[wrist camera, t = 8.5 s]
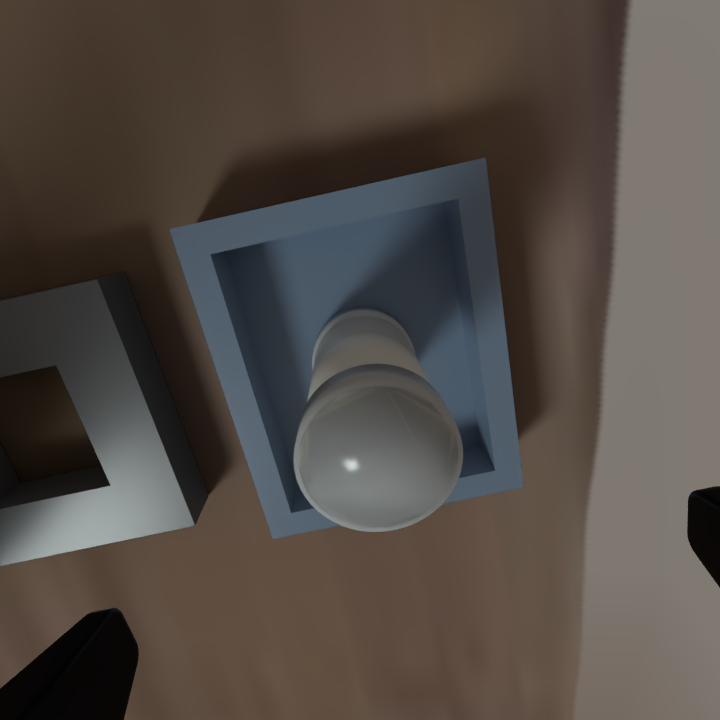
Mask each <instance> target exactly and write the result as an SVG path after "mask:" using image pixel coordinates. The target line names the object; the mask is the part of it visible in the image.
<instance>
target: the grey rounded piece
mask: <svg viewBox="0 0 720 720" xmlns="http://www.w3.org/2000/svg"><path fill="white" fill-rule="evenodd" d="M312 370H313V372H312V378H311V383H310V389H309V395H308V400H307V404H306V405H305V407H304V410H303V412H302V415H301V418H300V423H299V427H298V433H297V438H296V443H295V448H294V458H293V460H294V471H295V475H296V479H297V482H298V484H299V487H300V489H301V491H302V493H303V494H304V496H305V497H306V499H307V500H308V501H309V503H310V504H311V505H312V506H313V507H314V508H315V509H316V510H317V511H318V512H319V513H321V514H322V515H323V516H325V517H326V518H328V519H329V520H331V521H333V522H335V523H337V524H339V525H342V526H344V527H347V528H351V529H354V530H360V531H368V532H384V531H391V530H396V529H400V528H404V527H407V526H409V525H412V524H415V523H416V522H418V521H420V520H422V519H424V518H426V517H427V516H429V515H430V514H432V513H433V512H434V511H435V510H436V509H438V508H439V507H440V506H441V505H442V504H443V503H444V501H445V500H446V499H447V498H448V497H449V495H450V494H451V492H452V491H453V489H454V487H455V485H456V483H457V481H458V478H459V476H460V473H461V468H462V464H463V445H462V440H461V436H460V433H459V430H458V428H457V425H456V423H455V421H454V419H453V418H452V416H451V414H450V412H449V410H448V408H447V406H446V405H445V403H444V401H443V399H442V398H441V396H440V394H439V393H438V392H437V391H436V389H435V388H434V387H433V386H432V385H431V384H430V383H429V381H428V379H427V377H426V375H425V373H424V371H423V369H422V367H421V365H420V363H419V361H418V359H417V357H416V355H415V351H414V347H413V344H412V342H411V340H410V338H409V336H408V334H407V332H406V331H405V329H404V327H403V326H402V325H401V323H400V322H399V321H398V320H397V319H396V318H395V317H393V316H392V315H391V314H389V313H387V312H386V311H384V310H381V309H378V308H374V307H368V306H358V307H352V308H348V309H345V310H343V311H341V312H339V313H337V314H335V315H334V316H333V317H331V318H330V319H329V320H328V321H327V322H326V323H325V324H324V326H323V327H322V328H321V330H320V332H319V334H318V336H317V338H316V342H315V346H314V351H313V356H312Z"/></svg>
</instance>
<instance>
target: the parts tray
mask: <svg viewBox="0 0 720 720" xmlns="http://www.w3.org/2000/svg"><path fill="white" fill-rule="evenodd" d="M169 230H170V233H171V236H172V239H173V242H174V245H175V248H176V251H177V254H178V257H179V260H180V263H181V266H182V269H183V272H184V275H185V278H186V281H187V284H188V287H189V290H190V293H191V296H192V299H193V302H194V305H195V308H196V311H197V314H198V317H199V320H200V323H201V326H202V329H203V332H204V335H205V338H206V341H207V344H208V347H209V350H210V353H211V356H212V359H213V362H214V365H215V368H216V371H217V374H218V377H219V380H220V383H221V386H222V388H223V391H224V394H225V397H226V400H227V403H228V406H229V409H230V412H231V415H232V418H233V421H234V424H235V427H236V430H237V433H238V436H239V439H240V442H241V445H242V448H243V451H244V454H245V457H246V460H247V463H248V466H249V469H250V472H251V475H252V478H253V481H254V484H255V487H256V490H257V493H258V496H259V499H260V502H261V505H262V508H263V511H264V514H265V517H266V520H267V523H268V526H269V529H270V532H271V535H272V538H273V539H276V538H281V537H286V536H290V535H295V534H300V533H305V532H310V531H315V530H319V529H324V528H329V527H334V526H339V524H337V523H335V522H333V521H331V520H329V519H328V518H326V517H325V516H323V515H322V514H321V513H319V512H318V511H317V510H316V509H315V508H314V507H313V506H312V505H311V504H310V503H309V501H308V500H307V499H306V497H305V496H304V494H303V493H302V491H301V489H300V487H299V484H298V482H297V479H296V475H295V471H294V460H293V458H294V448H295V443H296V438H297V433H298V427H299V423H300V418H301V415H302V412H303V410H304V407H305V405H306V404H307V400H308V395H309V389H310V383H311V378H312V372H313V370H312V356H313V351H314V346H315V342H316V338H317V336H318V334H319V332H320V330H321V328H322V327H323V326H324V324H325V323H326V322H327V321H328V320H329V319H330V318H331V317H333V316H334V315H335V314H337V313H339V312H341V311H343V310H345V309H348V308H352V307H358V306H368V307H374V308H378V309H381V310H384V311H386V312H387V313H389V314H391V315H392V316H393V317H395V318H396V319H397V320H398V321H399V322H400V323H401V325H402V326H403V327H404V329H405V331H406V332H407V334H408V336H409V338H410V340H411V342H412V344H413V347H414V351H415V355H416V357H417V359H418V361H419V363H420V365H421V367H422V369H423V371H424V373H425V375H426V377H427V379H428V381H429V383H430V384H431V385H432V386H433V387H434V388H435V389H436V391H437V392H438V393H439V394H440V396H441V398H442V399H443V401H444V403H445V405H446V406H447V408H448V410H449V412H450V414H451V416H452V418H453V419H454V421H455V423H456V425H457V428H458V430H459V433H460V436H461V440H462V445H463V464H462V468H461V473H460V476H459V478H458V481H457V483H456V485H455V487H454V489H453V491H452V492H451V494H450V495H449V497H448V498H447V499H446V500H445V501H444V503H443V504H445V503H450V502H455V501H460V500H465V499H470V498H474V497H479V496H484V495H489V494H494V493H499V492H504V491H508V490H513V489H518V488H523V487H524V486H523V477H522V468H521V460H520V451H519V442H518V433H517V425H516V416H515V407H514V398H513V390H512V381H511V372H510V364H509V355H508V346H507V337H506V329H505V320H504V311H503V302H502V294H501V285H500V276H499V268H498V259H497V250H496V241H495V233H494V224H493V215H492V207H491V198H490V189H489V180H488V172H487V163H486V157H485V158H481V159H477V160H472V161H468V162H463V163H459V164H454V165H450V166H446V167H441V168H437V169H432V170H428V171H424V172H419V173H415V174H410V175H406V176H402V177H397V178H393V179H388V180H384V181H380V182H375V183H371V184H366V185H362V186H358V187H353V188H349V189H344V190H340V191H335V192H331V193H327V194H322V195H318V196H313V197H309V198H305V199H300V200H296V201H291V202H287V203H283V204H278V205H274V206H269V207H265V208H261V209H256V210H252V211H247V212H243V213H239V214H234V215H230V216H225V217H221V218H216V219H212V220H208V221H203V222H199V223H194V224H190V225H186V226H181V227H177V228H172V229H169Z"/></svg>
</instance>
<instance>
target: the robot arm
mask: <svg viewBox="0 0 720 720" xmlns="http://www.w3.org/2000/svg"><path fill="white" fill-rule="evenodd" d="M687 531H688V532H687V533H688V540H689V542H690V545H691V547H692V549H693V551H694V552H695V554H696V555H697V557H698V558H699V560H700V561H701V562H702V564H703V565H704V566H705V568H706V569H707V570H708V572H709V573H710V575H711V576H712V577H713V579H714V580H715V582H716V583H717V584H718V586H719V587H720V486H717V487H711V488H705V489H701V490H696V491H693V492H692V493H691V494H690V496H689V499H688V529H687ZM138 656H139V652H138V645H137V642H136V640H135V638H134V636H133V634H132V632H131V630H130V628H129V626H128V624H127V622H126V620H125V618H124V616H123V614H122V612H121V611H120V610H118V609H117V608H108V609H103V610H98V611H94V612H91V613H89V614H87V615H86V616H85V617H83V618H82V619H81V620H80V621H79V622H78V623H76V624H75V625H74V626H73V627H72V628H71V629H69V630H68V631H67V632H66V633H65V634H64V635H62V636H61V637H60V638H59V639H58V640H57V641H55V642H54V643H53V644H52V645H51V646H50V647H48V648H47V649H46V650H45V651H44V652H43V653H41V654H40V655H39V656H38V657H37V658H36V659H34V660H33V661H32V662H31V663H30V664H29V665H27V666H26V667H25V668H24V669H23V670H22V671H20V672H19V673H18V674H17V675H16V676H15V677H13V678H12V679H11V680H10V681H9V682H8V683H6V684H5V685H4V686H3V687H2V688H1V689H0V720H124V717H125V713H126V709H127V704H128V700H129V696H130V692H131V688H132V684H133V680H134V676H135V672H136V668H137V663H138Z"/></svg>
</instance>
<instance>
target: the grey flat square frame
mask: <svg viewBox="0 0 720 720" xmlns="http://www.w3.org/2000/svg"><path fill="white" fill-rule="evenodd" d="M55 365H56V366H57V368H58V371H59V373H60V375H61V377H62V379H63V382H64V384H65V386H66V388H67V390H68V393H69V395H70V397H71V399H72V401H73V404H74V406H75V408H76V410H77V412H78V415H79V417H80V419H81V421H82V423H83V426H84V428H85V430H86V432H87V434H88V437H89V439H90V441H91V443H92V445H93V448H94V450H95V452H96V454H97V456H98V459H99V461H100V463H101V466H96V467H91V468H87V469H82V470H77V471H73V472H68V473H63V474H59V475H54V476H49V477H45V478H40V479H35V480H30V481H26V482H20V480H19V478H18V477H17V475H16V473H15V471H14V469H13V467H12V465H11V463H10V461H9V459H8V458H7V456H6V454H5V452H4V450H3V448H2V446H1V444H0V566H3V565H7V564H12V563H17V562H22V561H27V560H31V559H36V558H41V557H46V556H51V555H55V554H60V553H65V552H70V551H75V550H79V549H84V548H89V547H94V546H99V545H103V544H108V543H113V542H118V541H123V540H127V539H132V538H137V537H142V536H147V535H152V534H156V533H161V532H166V531H171V530H176V529H180V528H185V527H190V526H195V524H196V522H197V520H198V518H199V516H200V513H201V511H202V509H203V507H204V505H205V502H206V500H207V498H208V496H209V495H208V493H207V490H206V487H205V485H204V482H203V479H202V477H201V474H200V471H199V469H198V466H197V463H196V461H195V458H194V455H193V453H192V450H191V447H190V445H189V442H188V439H187V437H186V434H185V431H184V429H183V426H182V423H181V421H180V418H179V415H178V413H177V410H176V408H175V405H174V402H173V400H172V397H171V394H170V392H169V389H168V386H167V384H166V381H165V378H164V376H163V373H162V370H161V368H160V365H159V362H158V360H157V357H156V354H155V352H154V349H153V346H152V344H151V341H150V338H149V336H148V333H147V330H146V328H145V325H144V323H143V320H142V317H141V315H140V312H139V309H138V307H137V304H136V301H135V299H134V296H133V293H132V291H131V288H130V285H129V283H128V280H127V277H126V275H125V272H120V273H116V274H111V275H107V276H103V277H98V278H94V279H89V280H85V281H80V282H76V283H71V284H67V285H63V286H58V287H54V288H49V289H45V290H40V291H36V292H31V293H27V294H23V295H18V296H14V297H9V298H5V299H0V377H5V376H10V375H14V374H19V373H23V372H28V371H32V370H37V369H41V368H46V367H50V366H55Z"/></svg>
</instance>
